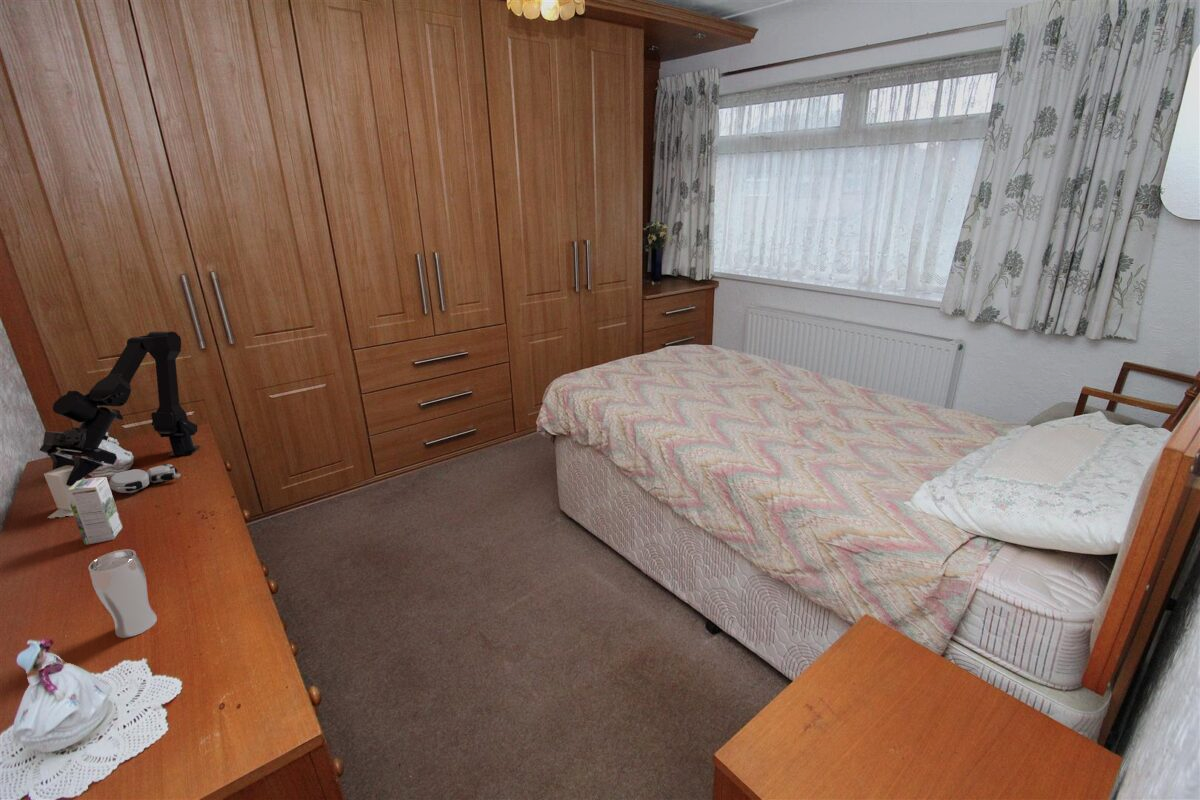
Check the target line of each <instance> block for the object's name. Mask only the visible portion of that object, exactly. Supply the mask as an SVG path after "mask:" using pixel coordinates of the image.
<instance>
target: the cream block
mask: <svg viewBox="0 0 1200 800" xmlns="http://www.w3.org/2000/svg"><path fill="white" fill-rule="evenodd" d="M73 468H74V466H69V465H65V466H62V467H60V468H57V469H55V470H52V469H51V470H50V471H48V472H45V473H43V475H44V477H45V481H46V483H47V485H48V488H49V491H50V493H51V496H52V498H53V500H54V503H55V505H56V507H57V509H60V508H61V509H67V510H72V509H71V506H70V503H69V500H68V497H67V495H66V491H67V490H68V489H69V488H70V487H71V486H68V485H66V484H67V481H68V478H69V476H70V474H71V472H72V470H73ZM84 479H86V478H85V477H83V478H82V479H81V480H84ZM72 486H73V485H72Z"/></svg>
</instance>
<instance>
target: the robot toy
mask: <svg viewBox="0 0 1200 800" xmlns="http://www.w3.org/2000/svg"><path fill="white" fill-rule="evenodd" d="M177 472H178V469H177V468H176V467H175V466H173V464H170V463H168V464H161V465H157V466H153V467H151V468H148V469H147V471H146V470H142V469H140V468H139V469H137V468H136V469H135V468H134V469H129V470H124V471H121V472H117V473H109V474H107V476H111V477H110V479H109V487H110V490H113V491H114V492H118V493H127V494H134V493H137V492H139V491H140V490H142V489H144V488H146V487H148V485H150V482H151V483H153V484H155V483H164V482H163V481H165V482H168V481H174V480H175V479H179V478H180V477H181V473H177Z"/></svg>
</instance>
